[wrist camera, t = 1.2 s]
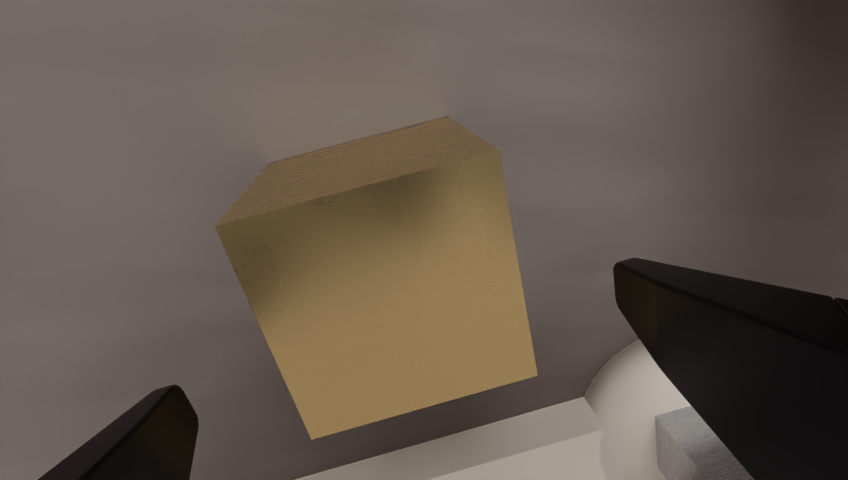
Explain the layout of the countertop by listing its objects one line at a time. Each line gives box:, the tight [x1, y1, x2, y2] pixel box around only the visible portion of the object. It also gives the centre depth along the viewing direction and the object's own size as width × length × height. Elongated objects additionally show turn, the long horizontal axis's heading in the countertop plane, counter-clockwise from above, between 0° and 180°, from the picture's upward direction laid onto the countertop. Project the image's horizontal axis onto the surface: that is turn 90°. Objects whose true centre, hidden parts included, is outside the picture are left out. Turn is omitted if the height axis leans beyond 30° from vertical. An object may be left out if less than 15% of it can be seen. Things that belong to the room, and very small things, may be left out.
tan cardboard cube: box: [215, 116, 538, 440], centre depth 13 cm, size 6×6×6 cm
